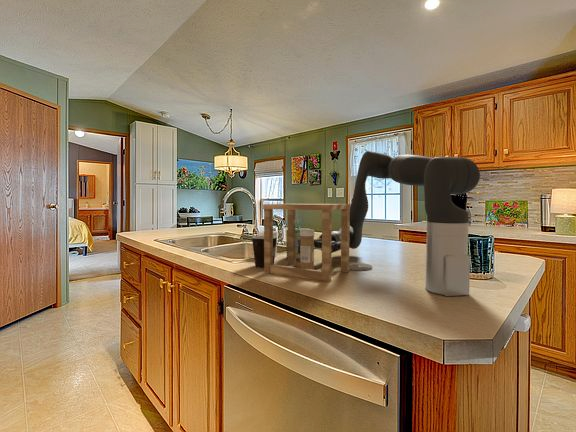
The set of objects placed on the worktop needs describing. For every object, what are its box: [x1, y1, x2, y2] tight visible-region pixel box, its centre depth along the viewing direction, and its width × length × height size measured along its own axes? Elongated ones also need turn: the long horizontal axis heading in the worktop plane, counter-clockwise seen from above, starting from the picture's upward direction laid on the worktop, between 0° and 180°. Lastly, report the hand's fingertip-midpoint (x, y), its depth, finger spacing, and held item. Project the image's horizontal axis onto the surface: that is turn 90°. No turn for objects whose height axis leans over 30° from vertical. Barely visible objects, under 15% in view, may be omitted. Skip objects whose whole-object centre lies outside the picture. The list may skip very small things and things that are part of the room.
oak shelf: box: [262, 203, 351, 283], centre depth 100 cm, size 17×22×22 cm
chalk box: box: [285, 220, 313, 261], centre depth 125 cm, size 9×9×15 cm
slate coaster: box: [349, 262, 373, 272], centre depth 108 cm, size 10×10×1 cm
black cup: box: [257, 230, 279, 257], centre depth 129 cm, size 8×8×10 cm
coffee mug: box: [251, 235, 278, 269], centre depth 109 cm, size 12×9×10 cm
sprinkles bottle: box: [299, 228, 315, 270], centre depth 101 cm, size 5×5×14 cm
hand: (311, 247), depth 103 cm, fingers open, 8 cm apart
